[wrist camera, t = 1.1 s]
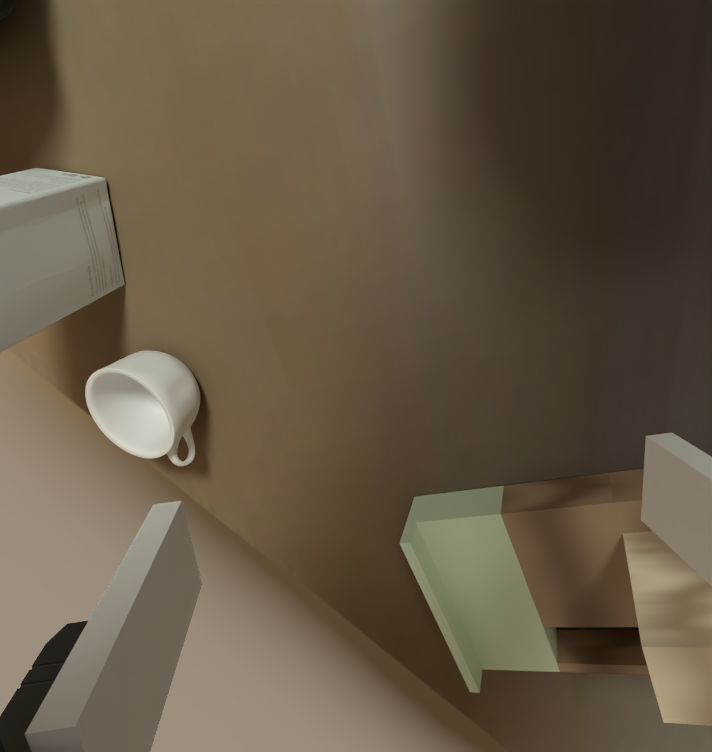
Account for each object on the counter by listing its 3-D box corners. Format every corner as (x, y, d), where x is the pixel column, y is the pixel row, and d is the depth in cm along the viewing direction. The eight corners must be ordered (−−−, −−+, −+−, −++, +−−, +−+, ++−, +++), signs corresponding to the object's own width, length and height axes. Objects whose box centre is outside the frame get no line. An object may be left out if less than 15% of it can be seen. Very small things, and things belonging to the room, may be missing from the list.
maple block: (735, 524, 30) (788, 648, 24) (749, 598, 32) (801, 731, 26) (622, 533, 33) (641, 647, 26) (641, 601, 35) (663, 722, 28)
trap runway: (887, 438, 28) (919, 472, 26) (897, 639, 34) (924, 683, 31) (503, 485, 38) (500, 514, 35) (559, 637, 43) (560, 671, 41)
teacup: (115, 353, 44) (66, 384, 39) (178, 324, 40) (132, 355, 36) (180, 449, 47) (141, 487, 42) (244, 430, 43) (209, 470, 39)
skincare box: (41, 166, 37) (-211, 206, 25) (113, 176, 36) (-117, 225, 23) (66, 278, 41) (-139, 361, 29) (131, 292, 40) (-56, 384, 28)
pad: (503, 485, 38) (498, 535, 34) (559, 637, 43) (560, 697, 39) (414, 496, 41) (399, 543, 37) (477, 637, 46) (469, 692, 42)
